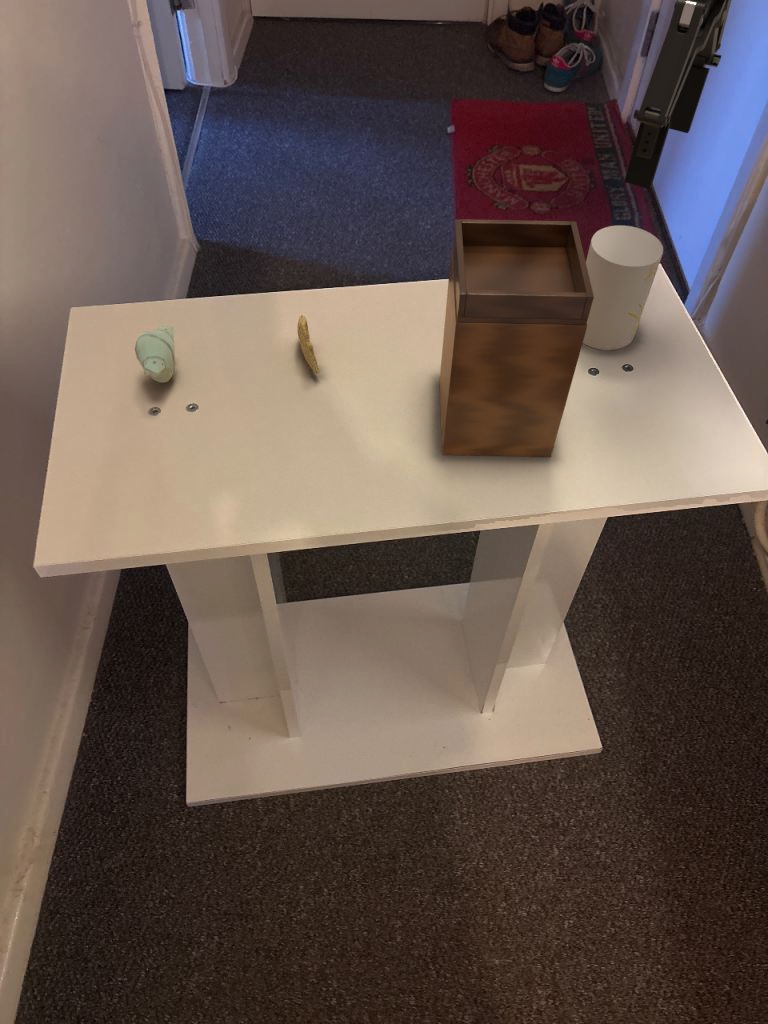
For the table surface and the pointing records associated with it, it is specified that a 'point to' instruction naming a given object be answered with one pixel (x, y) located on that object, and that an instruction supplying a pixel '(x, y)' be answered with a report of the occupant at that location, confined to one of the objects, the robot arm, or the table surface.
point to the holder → (520, 272)
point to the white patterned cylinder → (619, 283)
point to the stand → (504, 383)
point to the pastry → (306, 344)
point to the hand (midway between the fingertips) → (658, 155)
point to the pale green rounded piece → (157, 353)
